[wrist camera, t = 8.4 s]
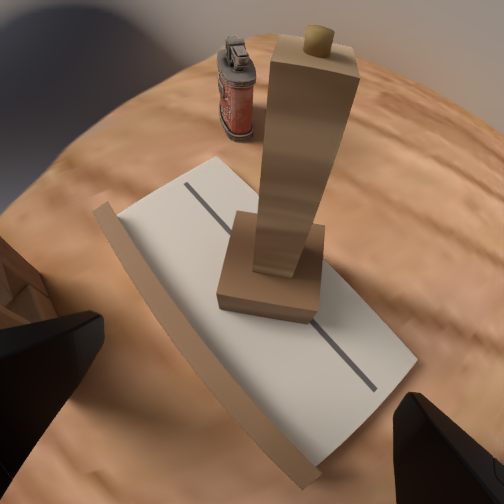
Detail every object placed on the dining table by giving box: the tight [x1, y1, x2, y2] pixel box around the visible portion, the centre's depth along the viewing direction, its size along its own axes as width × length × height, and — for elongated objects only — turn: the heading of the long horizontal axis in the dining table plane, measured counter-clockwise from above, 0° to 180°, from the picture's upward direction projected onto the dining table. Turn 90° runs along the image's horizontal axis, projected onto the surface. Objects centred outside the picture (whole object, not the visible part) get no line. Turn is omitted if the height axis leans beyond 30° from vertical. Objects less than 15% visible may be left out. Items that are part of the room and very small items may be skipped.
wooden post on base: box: [216, 25, 360, 324], centre depth 14 cm, size 6×6×17 cm
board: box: [92, 156, 418, 490], centre depth 21 cm, size 24×12×4 cm, turn 39°
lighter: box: [217, 36, 256, 142], centre depth 27 cm, size 8×3×10 cm, turn 13°
